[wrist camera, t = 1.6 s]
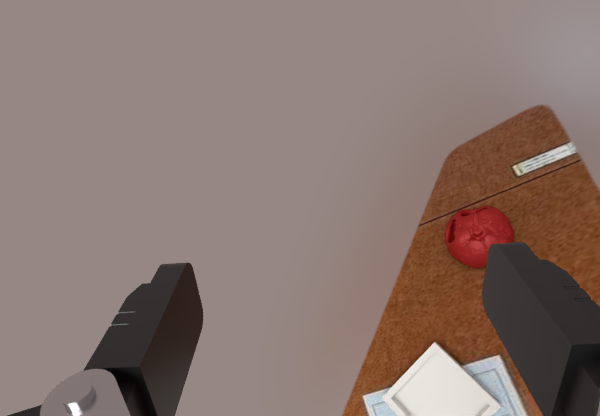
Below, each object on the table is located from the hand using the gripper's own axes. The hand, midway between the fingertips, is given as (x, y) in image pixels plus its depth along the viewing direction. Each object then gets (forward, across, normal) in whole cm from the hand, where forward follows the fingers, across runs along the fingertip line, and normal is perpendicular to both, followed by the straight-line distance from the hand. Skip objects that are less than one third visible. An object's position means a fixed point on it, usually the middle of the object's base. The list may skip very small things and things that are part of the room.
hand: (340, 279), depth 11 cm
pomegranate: (+50, +25, -32) cm, 65 cm away
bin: (+35, +16, -51) cm, 64 cm away
